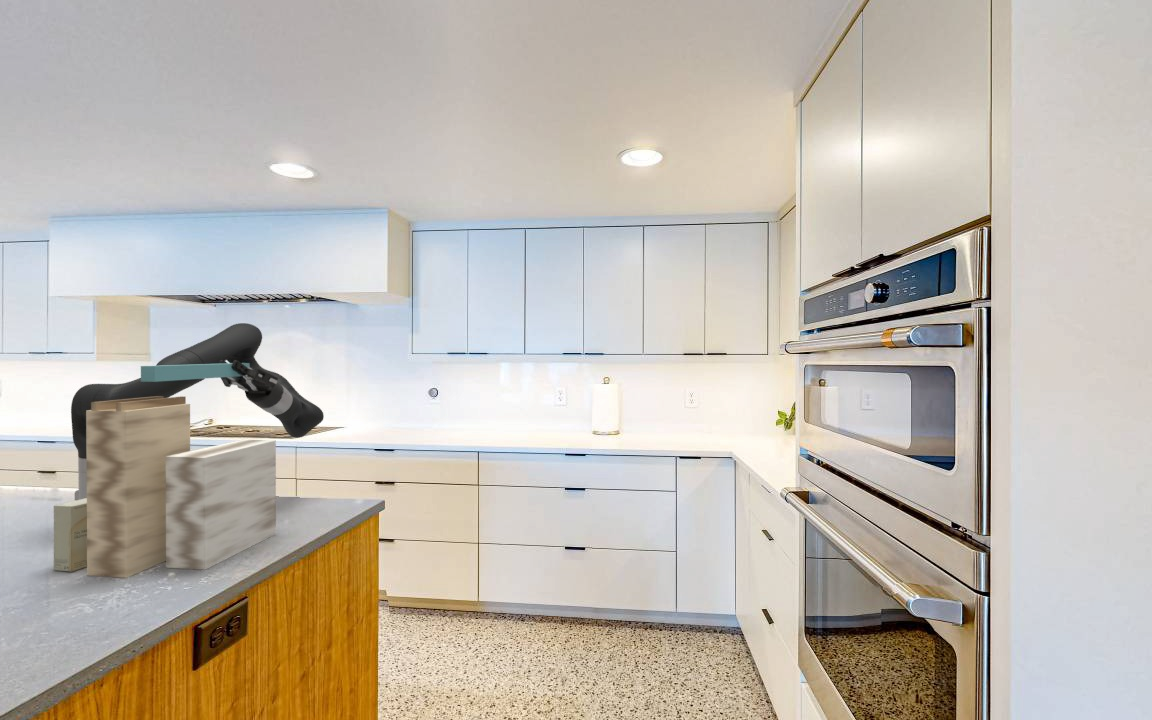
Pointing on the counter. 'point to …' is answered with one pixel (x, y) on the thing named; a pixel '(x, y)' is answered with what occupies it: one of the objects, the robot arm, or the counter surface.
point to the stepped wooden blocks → (170, 490)
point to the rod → (187, 372)
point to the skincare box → (70, 535)
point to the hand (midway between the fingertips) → (227, 363)
